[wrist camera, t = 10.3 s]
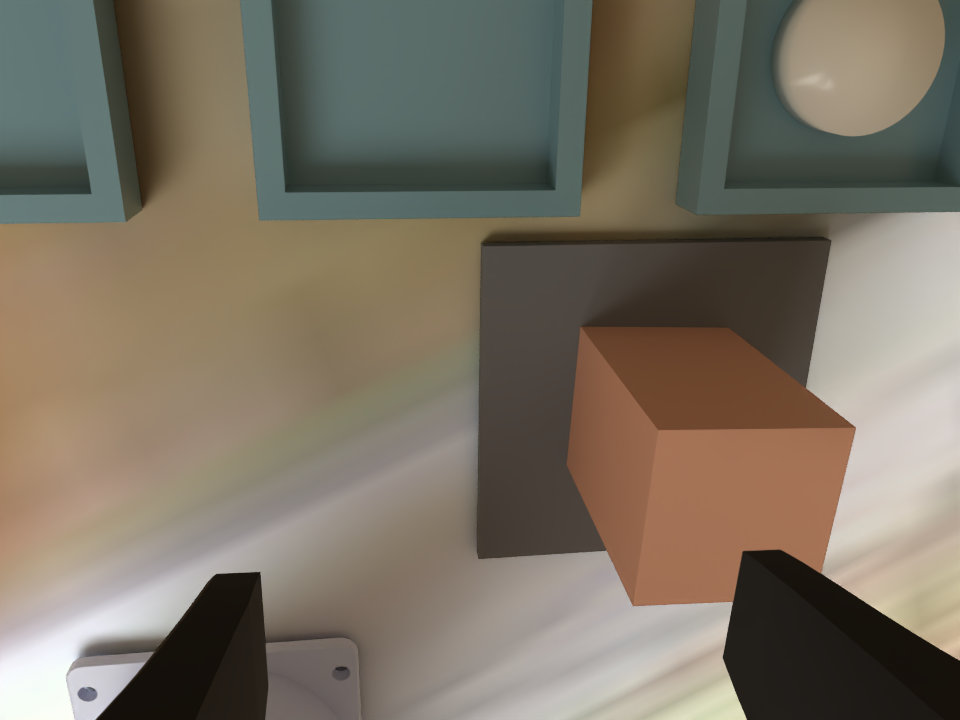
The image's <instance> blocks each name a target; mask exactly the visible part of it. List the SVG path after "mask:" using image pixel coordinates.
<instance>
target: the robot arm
mask: <svg viewBox="0 0 960 720" xmlns="http://www.w3.org/2000/svg"><path fill="white" fill-rule="evenodd" d="M723 660H724V662H725V665H726V668H727V670H728V673H729V676H730V678H731V681H732V684H733V686H734V689H735V692H736V694H737V696H738V699H739V701H740V704H741V706H742V709H743V711H744V713H745V716H746V718H747V720H960V661H959V660H958V659H956V658H954V657H952V656H951V655H949V654H947V653H945V652H944V651H942V650H940V649H939V648H937V647H935V646H934V645H932V644H930V643H929V642H927V641H925V640H924V639H922V638H921V637H919V636H917V635H916V634H914V633H912V632H911V631H909V630H908V629H906V628H904V627H903V626H901V625H900V624H898V623H896V622H895V621H893V620H892V619H890V618H889V617H887V616H885V615H884V614H882V613H881V612H879V611H878V610H876V609H875V608H873V607H871V606H870V605H868V604H867V603H865V602H864V601H862V600H861V599H859V598H858V597H856V596H855V595H853V594H851V593H850V592H848V591H847V590H845V589H844V588H842V587H841V586H839V585H838V584H836V583H835V582H833V581H831V580H830V579H828V578H827V577H825V576H824V575H822V574H821V573H819V572H817V571H816V570H814V569H813V568H811V567H810V566H808V565H806V564H805V563H803V562H802V561H800V560H798V559H796V558H795V557H793V556H791V555H790V554H788V553H786V552H784V551H782V550H780V549H778V550H755V551H743V552H742V557H741V562H740V568H739V573H738V579H737V584H736V589H735V595H734V600H733V606H732V611H731V616H730V622H729V627H728V632H727V638H726V643H725V649H724V654H723ZM340 666H343V667H347V668H348V669H347V670H344V671H338V670H336V669H335V668H336V667H340ZM66 682H67V686H68V691H69V696H70V700H71V705H72V709H73V714H74V718H75V720H362V717H361V697H360V678H359V659H358V648H357V645H356V644H355V643H354V642H353V641H352V640H350V639H348V638H327V639H314V640H301V641H288V642H275V643H265V629H264V616H263V602H262V588H261V575H260V572H251V573H228V574H216V575H215V576H213V577H212V578H211V579H210V580H209V581H208V583H207V584H206V585H205V587H204V588H203V589H202V591H201V592H200V594H199V595H198V596H197V598H196V599H195V601H194V602H193V603H192V605H191V606H190V607H189V609H188V610H187V611H186V613H185V614H184V615H183V617H182V618H181V619H180V621H179V622H178V623H177V624H176V626H175V627H174V628H173V630H172V631H171V632H170V634H169V635H168V636H167V637H166V639H165V640H164V641H163V642H162V644H161V645H160V646H159V647H158V648H157V650H156V651H155V652H143V653H130V654H117V655H103V656H90V657H83V658H79V659H77V660H76V661H74V662H73V663H72V665H71V666H70V668H69V670H68V672H67V675H66ZM84 687H92V688H93V689H95V690H96V691H88V690H87V689H85V688H84Z"/></svg>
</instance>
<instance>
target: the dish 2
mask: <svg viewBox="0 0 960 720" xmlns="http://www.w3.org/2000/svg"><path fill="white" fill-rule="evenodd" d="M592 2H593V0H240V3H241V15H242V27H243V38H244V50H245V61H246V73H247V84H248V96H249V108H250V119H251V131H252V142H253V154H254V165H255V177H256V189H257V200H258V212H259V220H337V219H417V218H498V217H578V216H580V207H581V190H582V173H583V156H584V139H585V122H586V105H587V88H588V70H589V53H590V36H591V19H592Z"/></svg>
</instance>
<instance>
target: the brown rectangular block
mask: <svg viewBox="0 0 960 720" xmlns="http://www.w3.org/2000/svg"><path fill="white" fill-rule="evenodd" d="M855 430H856V427H854V426H853V425H852V424H851V423H849V422H848V421H847V420H845V419H844V418H843V417H842V416H840V415H839V414H838V413H837V412H835V411H834V410H833V409H831V408H830V407H829V406H828V405H826V404H825V403H824V402H823V401H821V400H820V399H819V398H817V397H816V396H815V395H814V394H812V393H811V392H810V391H809V390H807V389H806V388H805V387H803V386H802V385H801V384H800V383H798V382H797V381H796V380H795V379H793V378H792V377H791V376H789V375H788V374H787V373H786V372H784V371H783V370H782V369H781V368H779V367H778V366H777V365H775V364H774V363H773V362H772V361H770V360H769V359H768V358H767V357H765V356H764V355H763V354H761V353H760V352H759V351H758V350H756V349H755V348H754V347H753V346H751V345H750V344H749V343H748V342H746V341H745V340H744V339H742V338H741V337H740V336H739V335H737V334H736V333H735V332H734V331H732V330H731V329H730V328H712V327H580V336H579V346H578V356H577V366H576V376H575V386H574V396H573V406H572V416H571V426H570V436H569V446H568V456H567V467H568V469H569V471H570V473H571V475H572V478H573V480H574V482H575V484H576V486H577V488H578V490H579V492H580V495H581V497H582V499H583V501H584V503H585V505H586V507H587V509H588V511H589V514H590V516H591V518H592V520H593V522H594V524H595V526H596V528H597V531H598V533H599V535H600V537H601V539H602V541H603V543H604V545H605V548H606V550H607V552H608V554H609V556H610V558H611V560H612V562H613V564H614V567H615V569H616V571H617V573H618V575H619V577H620V579H621V581H622V584H623V586H624V588H625V590H626V592H627V594H628V596H629V598H630V601H631V603H632V605H633V606H645V605H668V604H691V603H714V602H733V600H734V595H735V589H736V584H737V579H738V573H739V568H740V562H741V557H742V552H743V551H755V550H778V549H780V550H782V551H784V552H786V553H788V554H790V555H791V556H793V557H795V558H796V559H798V560H800V561H802V562H803V563H805V564H806V565H808V566H810V567H811V568H813V569H814V570H816V571H817V572H819V573H821V572H822V567H823V563H824V559H825V555H826V551H827V547H828V542H829V538H830V534H831V530H832V526H833V522H834V517H835V513H836V509H837V505H838V501H839V497H840V492H841V488H842V484H843V480H844V476H845V472H846V467H847V463H848V459H849V455H850V451H851V447H852V442H853V438H854V434H855Z"/></svg>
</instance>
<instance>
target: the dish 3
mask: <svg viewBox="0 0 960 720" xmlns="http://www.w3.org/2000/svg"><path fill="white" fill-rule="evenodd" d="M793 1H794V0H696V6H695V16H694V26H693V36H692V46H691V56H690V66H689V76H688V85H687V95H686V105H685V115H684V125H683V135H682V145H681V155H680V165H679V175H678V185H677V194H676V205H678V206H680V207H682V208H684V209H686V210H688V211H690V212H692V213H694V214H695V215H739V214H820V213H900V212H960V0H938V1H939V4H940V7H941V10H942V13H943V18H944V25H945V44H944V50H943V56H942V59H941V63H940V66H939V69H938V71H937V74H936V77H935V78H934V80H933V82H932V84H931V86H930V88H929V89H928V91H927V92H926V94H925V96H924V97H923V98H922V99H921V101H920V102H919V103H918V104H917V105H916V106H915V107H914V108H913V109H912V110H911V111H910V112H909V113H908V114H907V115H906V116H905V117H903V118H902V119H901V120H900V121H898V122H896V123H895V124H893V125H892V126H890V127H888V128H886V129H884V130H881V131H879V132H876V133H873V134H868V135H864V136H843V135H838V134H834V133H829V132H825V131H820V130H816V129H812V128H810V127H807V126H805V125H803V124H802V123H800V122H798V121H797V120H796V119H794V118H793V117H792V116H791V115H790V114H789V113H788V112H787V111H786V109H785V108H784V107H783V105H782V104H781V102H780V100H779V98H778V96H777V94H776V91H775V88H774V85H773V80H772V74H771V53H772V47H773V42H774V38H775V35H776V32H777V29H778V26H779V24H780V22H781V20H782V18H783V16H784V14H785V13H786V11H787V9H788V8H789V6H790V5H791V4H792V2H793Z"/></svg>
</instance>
